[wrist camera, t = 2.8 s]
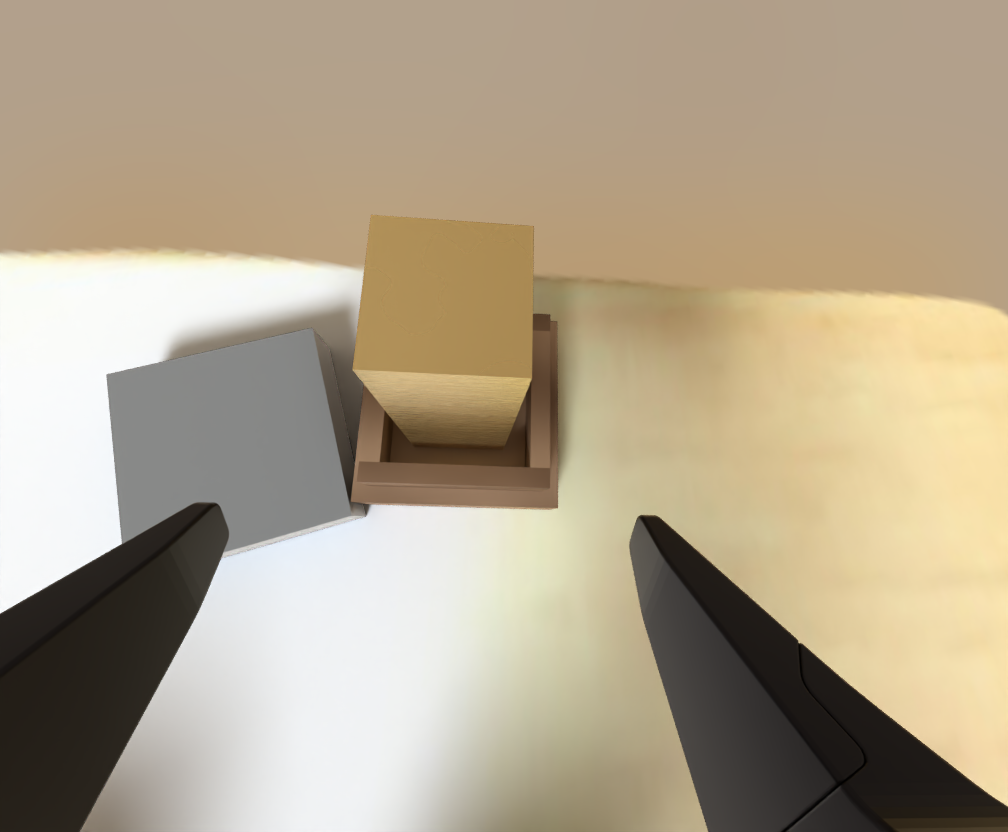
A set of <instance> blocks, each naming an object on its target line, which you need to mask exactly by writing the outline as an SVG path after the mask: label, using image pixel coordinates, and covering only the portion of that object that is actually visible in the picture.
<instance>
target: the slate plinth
mask: <svg viewBox="0 0 1008 832" xmlns="http://www.w3.org/2000/svg"><path fill="white" fill-rule="evenodd" d="M106 375H107V386H108V397H109V408H110V419H111V429H112V440H113V451H114V462H115V473H116V484H117V495H118V505H119V516H120V527H121V538H122V544H123V543H125V542H126V541H128V540H130V539H132V538H133V537H135V536H137V535H139V534H140V533H142V532H144V531H145V530H147V529H149V528H151V527H152V526H154V525H156V524H158V523H159V522H161V521H163V520H165V519H166V518H168V517H170V516H172V515H173V514H175V513H177V512H179V511H180V510H182V509H184V508H186V507H187V506H189V505H191V504H193V503H196V502H214V503H217V504H218V505H219V506H220V507H221V510H222V512H223V515H224V518H225V520H226V523H227V526H228V528H229V540H228V543H227V545H226V548H225V550H224V552H223V555H222V557H221V558H224V557H228V556H231V555H234V554H238V553H241V552H245V551H248V550H252V549H255V548H259V547H262V546H266V545H269V544H273V543H276V542H280V541H283V540H286V539H290V538H293V537H297V536H300V535H304V534H307V533H311V532H314V531H318V530H321V529H325V528H328V527H331V526H335V525H338V524H342V523H345V522H349V521H352V520H356V519H359V518H363V517H366V514H365V510H364V505H363V504H361V503H355V502H351V495H352V486H353V477H354V468H355V463H354V459H353V454H352V449H351V445H350V440H349V435H348V431H347V426H346V422H345V417H344V412H343V408H342V403H341V398H340V394H339V389H338V384H337V380H336V375H335V371H334V366H333V361H332V357H331V352H330V348H329V347H328V346H327V345H326V343H325V342H324V341H323V340H322V339H321V337H320V336H319V335H318V334H317V333H316V331H315V330H314V329H313V328H309V329H304V330H300V331H295V332H291V333H287V334H282V335H278V336H273V337H269V338H265V339H260V340H256V341H251V342H247V343H243V344H238V345H234V346H229V347H225V348H221V349H216V350H212V351H207V352H203V353H199V354H194V355H190V356H185V357H181V358H177V359H172V360H168V361H163V362H159V363H155V364H150V365H146V366H141V367H137V368H133V369H128V370H124V371H119V372H115V373H111V374H106Z"/></svg>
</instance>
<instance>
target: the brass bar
mask: <svg viewBox="0 0 1008 832" xmlns="http://www.w3.org/2000/svg"><path fill="white" fill-rule="evenodd" d="M533 251H534V226H524V225H509V224H495V223H480V222H466V221H465V222H464V221H452V220H436V219H422V218H408V217H394V216H378V215H371V218H370V227H369V236H368V243H367V252H366V260H365V269H364V277H363V285H362V294H361V302H360V311H359V319H358V327H357V336H356V344H355V352H354V361H353V369H352V370H353V371H354V372H355V374H356V375H357V376H358V377H359V379H360V380H361V381H362V382H363V384H364V385H365V386H366V387H367V389H368V390H369V391H370V392H371V394H372V395H373V396H374V397H375V399H376V400H377V401H378V402H379V404H380V405H381V406H382V407H383V409H384V410H385V411H386V412H387V414H388V415H389V416H390V417H391V419H392V420H393V421H394V422H395V424H396V425H397V426H398V427H399V429H400V430H401V431H402V432H403V434H404V435H405V436H406V437H407V439H408V440H409V441H410V442H411V444H412V445H413V446H414V447H436V448H463V449H489V450H503V449H504V447H505V444H506V442H507V439H508V437H509V434H510V432H511V429H512V427H513V424H514V422H515V419H516V417H517V414H518V412H519V409H520V407H521V404H522V402H523V400H524V397H525V395H526V392H527V390H528V387H529V385H530V382H531V380H532V338H533Z"/></svg>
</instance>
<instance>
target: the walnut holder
mask: <svg viewBox="0 0 1008 832" xmlns="http://www.w3.org/2000/svg"><path fill="white" fill-rule="evenodd" d="M351 502H355V503H361V504H376V505H409V506H443V507H477V508H510V509H544V510H549V509H555V508H558V374H557V321H550V315H547V314H533V338H532V380H531V382H530V385H529V387H528V390H527V392H526V395H525V397H524V400H523V402H522V404H521V407H520V409H519V412H518V414H517V417H516V419H515V422H514V424H513V427H512V429H511V432H510V434H509V437H508V439H507V442H506V444H505V447H504V449H503V450H489V449H463V448H436V447H414V446H413V445H412V444H411V442H410V441H409V440H408V439H407V437H406V436H405V435H404V434H403V432H402V431H401V430H400V429H399V427H398V426H397V425H396V424H395V422H394V421H393V420H392V419H391V417H390V416H389V415H388V414H387V412H386V411H385V410H384V409H383V407H382V406H381V405H380V404H379V402H378V401H377V400H376V399H375V397H374V396H373V395H372V394H371V392H370V391H369V390H368V389H367V387H366V386H365V385H364V387H363V396H362V405H361V414H360V423H359V432H358V441H357V450H356V459H355V468H354V477H353V486H352V495H351Z"/></svg>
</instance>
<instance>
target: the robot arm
mask: <svg viewBox="0 0 1008 832" xmlns="http://www.w3.org/2000/svg"><path fill="white" fill-rule="evenodd" d="M228 540H229V528H228V526H227V523H226V520H225V518H224V515H223V512H222V510H221V507H220V506H219V505H218V504H217V503H214V502H196V503H193V504H191V505H189V506H187V507H186V508H184V509H182V510H180V511H179V512H177V513H175V514H173V515H172V516H170V517H168V518H166V519H165V520H163V521H161V522H159V523H158V524H156V525H154V526H152V527H151V528H149V529H147V530H145V531H144V532H142V533H140V534H139V535H137V536H135V537H133V538H132V539H130V540H128V541H126V542H125V543H123V544H121V545H119V546H118V547H116V548H114V549H112V550H111V551H109V552H107V553H105V554H104V555H102V556H100V557H98V558H97V559H95V560H93V561H91V562H90V563H88V564H86V565H84V566H83V567H81V568H79V569H77V570H76V571H74V572H72V573H70V574H69V575H67V576H65V577H63V578H62V579H60V580H58V581H56V582H55V583H53V584H51V585H49V586H48V587H46V588H44V589H42V590H41V591H39V592H37V593H35V594H34V595H32V596H30V597H28V598H27V599H25V600H23V601H21V602H20V603H18V604H16V605H15V606H13V607H11V608H9V609H8V610H6V611H4V612H2V613H1V614H0V832H80V830H81V828H82V827H83V825H84V823H85V821H86V819H87V817H88V816H89V814H90V812H91V810H92V808H93V806H94V804H95V803H96V801H97V799H98V797H99V795H100V793H101V791H102V790H103V788H104V786H105V784H106V782H107V780H108V779H109V777H110V775H111V773H112V771H113V769H114V767H115V766H116V764H117V762H118V760H119V758H120V756H121V754H122V753H123V751H124V749H125V747H126V745H127V743H128V741H129V740H130V738H131V736H132V734H133V732H134V730H135V729H136V727H137V725H138V723H139V721H140V719H141V717H142V716H143V714H144V712H145V710H146V708H147V706H148V704H149V703H150V701H151V699H152V697H153V695H154V693H155V692H156V690H157V688H158V686H159V684H160V682H161V680H162V679H163V677H164V675H165V673H166V671H167V669H168V667H169V666H170V664H171V662H172V660H173V658H174V656H175V655H176V653H177V651H178V649H179V647H180V645H181V643H182V642H183V640H184V638H185V636H186V634H187V632H188V630H189V629H190V627H191V625H192V623H193V621H194V619H195V617H196V615H197V613H198V611H199V609H200V607H201V605H202V603H203V601H204V598H205V596H206V594H207V591H208V589H209V586H210V584H211V581H212V579H213V577H214V574H215V572H216V569H217V567H218V565H219V562H220V560H221V557H222V555H223V552H224V550H225V548H226V545H227V543H228ZM629 548H630V555H631V560H632V565H633V571H634V576H635V581H636V586H637V592H638V597H639V602H640V607H641V612H642V616H643V620H644V624H645V627H646V630H647V634H648V637H649V640H650V643H651V647H652V650H653V653H654V657H655V660H656V663H657V666H658V670H659V673H660V676H661V679H662V683H663V686H664V689H665V692H666V696H667V699H668V702H669V705H670V709H671V712H672V715H673V718H674V722H675V725H676V728H677V731H678V735H679V738H680V741H681V744H682V748H683V751H684V754H685V757H686V761H687V764H688V767H689V770H690V774H691V777H692V780H693V783H694V787H695V790H696V793H697V796H698V800H699V803H700V806H701V809H702V813H703V816H704V819H705V822H706V826H707V829H708V832H1008V807H1007V806H1006V805H1004V804H1003V803H1001V802H1000V801H998V800H997V799H995V798H994V797H992V796H991V795H989V794H988V793H987V792H985V791H984V790H983V789H981V788H980V787H979V786H977V785H976V784H975V783H973V782H972V781H971V780H969V779H968V778H967V777H966V776H964V775H963V774H962V773H960V772H959V771H958V770H957V769H955V768H954V767H953V766H952V765H950V764H949V763H948V762H946V761H945V760H944V759H943V758H941V757H940V756H939V755H937V754H936V753H935V752H934V751H932V750H931V749H930V748H929V747H927V746H926V745H925V744H923V743H922V742H921V741H920V740H918V739H917V738H916V737H915V736H913V735H912V734H911V733H909V732H908V731H907V730H906V729H904V728H903V727H902V726H901V725H899V724H898V723H897V722H895V721H894V720H893V719H892V718H890V717H889V716H888V715H887V714H885V713H884V712H883V711H882V710H880V709H879V708H878V707H877V706H875V705H874V704H873V703H872V702H870V701H869V700H868V699H867V698H865V697H864V696H863V695H862V694H860V693H859V692H858V691H857V690H855V689H854V688H853V687H852V686H851V685H849V684H848V683H847V682H846V681H845V680H844V679H842V678H841V677H840V676H839V675H838V674H837V673H835V672H834V671H833V670H832V669H831V668H830V667H828V666H827V665H826V664H825V663H824V662H823V661H821V660H820V659H819V658H818V657H817V656H816V655H815V654H813V653H812V652H811V651H810V650H809V649H808V648H807V647H806V646H804V645H803V644H802V643H798V640H797V639H796V638H795V637H794V636H793V635H792V634H791V633H790V632H788V631H787V630H786V629H785V628H784V627H783V626H782V625H781V624H779V623H778V622H777V621H776V620H775V619H774V618H773V617H771V616H770V615H769V614H768V613H767V612H766V611H765V610H764V609H762V608H761V607H760V606H759V605H758V604H757V603H756V602H755V601H753V600H752V599H751V598H750V597H749V596H748V595H747V594H746V593H744V592H743V591H742V590H741V589H740V588H739V587H738V586H736V585H735V584H734V583H733V582H732V581H731V580H730V579H729V578H727V577H726V576H725V575H724V574H723V573H722V572H721V571H720V570H718V569H717V568H716V567H715V566H714V565H713V564H712V563H711V562H709V561H708V560H707V559H706V558H705V557H704V556H703V555H702V554H700V553H699V552H698V551H697V550H696V549H695V548H694V547H692V546H691V545H690V544H689V543H688V542H687V541H686V540H685V539H683V538H682V537H681V536H680V535H679V534H678V533H677V532H676V531H674V530H673V529H672V528H671V527H670V526H669V525H668V524H667V523H665V522H664V521H663V520H662V519H661V518H660V517H658V516H655V515H640V516H639V517H638V518H637V520H636V523H635V526H634V529H633V532H632V536H631V539H630V544H629Z"/></svg>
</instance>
